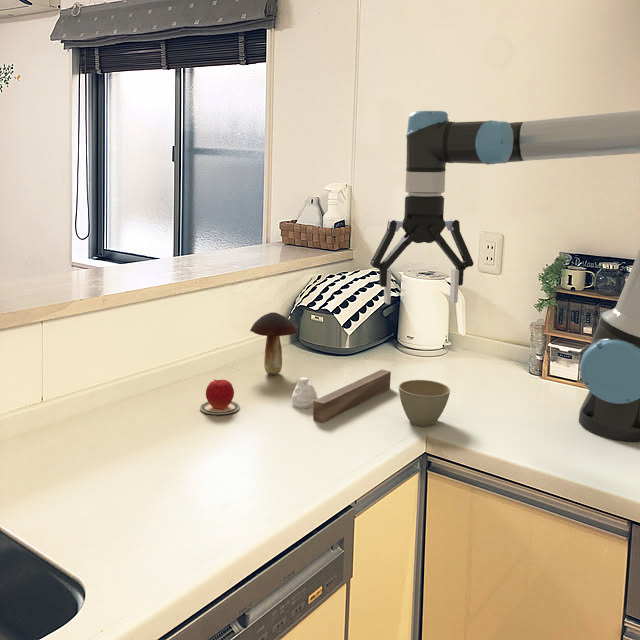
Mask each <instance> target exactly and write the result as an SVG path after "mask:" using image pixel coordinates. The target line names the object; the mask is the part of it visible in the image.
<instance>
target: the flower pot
mask: <svg viewBox="0 0 640 640" xmlns="http://www.w3.org/2000/svg"><path fill="white" fill-rule="evenodd" d="M398 392H399V393H398V394H399V399H400V403H401V406H402V409H403V411H404V414H405V416H406V417H407V420H408V421H409V422H410V423H411V424H413V425H415V426H419V427H429V426H433V425H435V424H436V423H437V421H438V420H440V419H439V418H440V417H441V416H442V414H443V412H444V410H445V408H446V406H447V403H448V400H449V398H450V393H451V388H450V387H449V386H448V385H447V384H444V383H441V382H438V381H435V380H428V379H412V380H405V381H403V382H401V383H399V385H398Z"/></svg>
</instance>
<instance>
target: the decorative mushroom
mask: <svg viewBox="0 0 640 640" xmlns="http://www.w3.org/2000/svg"><path fill="white" fill-rule="evenodd" d="M249 332H252V333H254V334H256V335H258V336H259V335H260V336H264V337H265V336H266V341H265V348H264V356H263V357H264V359H263V360H264V364H263V365H264V371H265V372H266V373H267V374H268V375H272V376H275V375H278V374H279V373H280V372H281V371H282V368H283V350H282V344H281V339H280V338H281V337H285V336H289V335H294V334H296V333H297V332H298V329H297V327H296V325H295V323H294V322H293V321H292V320H291V319H289V318H288V317H286V316H285V315H282V314H280V313H278V312H268V313H266V314H263V315H262V316H260V318H258V319H256V321H255V322H254V323H253V325H252V326H251V328H250V330H249Z"/></svg>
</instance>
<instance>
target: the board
mask: <svg viewBox="0 0 640 640" xmlns="http://www.w3.org/2000/svg"><path fill="white" fill-rule="evenodd" d="M391 373H392V371H391V370H386V369H380V370H378V371H376V372H373V373H371V374H368V375H367V376H365V377H362V378H360V379H358V380H356V381H353V382H351V383H350V384H347V385H345V386H343V387H341V388H339V389H336V390H334V391H332V392H330V393H328V394H327V393H326V395H324V396H320V397H318V399H317V400H314V403H313V407H312V408H313V411H312V412H313V413H312V414H313V415H312V420H313V421H316V422H319V423H323V424H324V423H326V422H327V421H329V420H331V419H333V418H335V417H337V416H339V415H341V414H343V413H345V412H347V411H349V410H351V409H352V408H355V407H357V406H359V405H360V404H362V403H365V402H367V401H369V400H370V399H372V398H374V397H376V396H378V395H380V394H382V393H384V392H386V391H388V390H389V389H391Z"/></svg>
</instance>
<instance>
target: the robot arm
mask: <svg viewBox="0 0 640 640" xmlns="http://www.w3.org/2000/svg"><path fill="white" fill-rule="evenodd" d="M405 136H406V137H405V138H406V164H405V165H406V167H405V188H404V190H405V193H407V195H405V197H404V214H403V215H404V218H403V220H401V221H400V220H395V219H392V218H390V219H389V220H388V221H387V228H386V231H385V233H384V235H383V237H382V239H381V241H380V243H379V245H378V247H377V249H375V252H374V255H373V257H372V258H371V259H370V266H371V267H373V268H375V269H378V271H379V280H378V282H379V285H380V287H381V288H383V302H384V303H385V304H386V305H391V297H392V292H391V289H392V271H391V270H390V267H391V266H392V265H393V263H394V262H395V261H396V260H397V259H398V258H399V257H400V256H401V254H402V253H403V252H404V251H405V250H406V248H407V247H408V246H409V245H411V244H412V243H415V244H422V243H423V244H424V243H426V244H432V243H434V242H435V244H437V245H438V246H439V248H440V249H441V250H442V251H443V253H444V254H445V256H446V257H447V258H448V260H450V262H451V263H452V265H453V267H455V268H451V269H450V286H449V287H450V288H449V289H450V290H449V301H450V302H452V303H453V304H457V303H458V299H459V287H460V286H463V284H464V271H465V270H466V269H467V268H469V267H473V266H474V264H475V263H474V261H473V258H472V256H471V254H470V251H469V248H468V246H467V244H466V242H465V239H464V238H463V235H462V233H461V226H460V224H461V223H460V221H459V220H458V219H455V218H451V219H450V220H449V219H448V220H445V219H444V214H445V213H444V210H445V197H444V196H443V195H442V194H444V193H445V187H446V171H447V170H446V166H447V164H477V165H479V164H480V165H481V164H482V165H487V166H488V165H496V164H507V163H516V162H517V163H518V162H527V161H528V162H529V161H543V160H556V159H557V160H559V159H572V158H574V159H575V158H587V157H591V158H592V157H605V156H618V155H619V156H620V155H635V154H640V110H630V111H629V110H628V111H619V112H609V113H599V114H591V115H590V114H587V115H579V116H568V117H558V118H547V119H539V120H538V119H537V120H525V121H516V122H515V121H514V122H508V121H502V120H501V121H498V120H492V119H490V120H483V121H482V120H481V121H478V120H477V121H459V122H458V121H457V122H456V121H450V120H449V114H448V113H447V112H446V111H443V110H416V111H413V112H411V113H410V114H409V115H408V121H407V131H406V135H405ZM400 228H402V230H403V231H404V232H405V233H404V235H403V236H401V238H400V240H399V242H397V244H396V245H395V246H394V247H393V248H392V250H391V251H390V252H389V253H388V254H387V255H386V257H385V254H386V252H387V250H388V249H389V246H390V244H391V242H392V241H393V240H394V239H393V238H394V237H395V235H396V233H397V232H399V230H400ZM445 228H447V231H449V232H450V234H451V235H452V239H453V241H454V244H455V245H456V248H457V250H458V253H459V255H460V257H461V259H462V261H461V259H460V258H459V257H458V255H457V254H456V253H455V251H454V250H453V249H452V248H451V246H450V245H449V244H448V243H447V241H446V240H445V238H444V237H443V235H441V233H442V232H443V231H444V229H445ZM383 258H384V259H383ZM579 367H580V368H579V371H580V377H581V379H582V383H583V384H584V385H585V387H586V389H587V390H588V393H587V394H586V397H585V399H584V400H583V402H582V404H581V407H580V410H579V414H578V415H579V416H578V423H579V425H580V426H581V427H583V428H584V429H586V430H588V432H591V433H594V434H595V435H598V436H601V437H605V438H608V439H613V440H617V439H618V441H623V442H625V441H626V442H640V249H638V253H637V255H636V257H635V260H634V262H633V264H632V267H631V269H630V271H629V275H628V276H627V279H626V280H625V283H624V286H623V288H622V291H621V294H620V295H619V298H618V300H617V303H616V305H615V307H614V308H612V309H609V310H606V311H603V312H602V313H601V315H600V319H599V321H598V324H597V327H596V330H595V331H594V333H593V336H592V339H591V341H590V344H589V346H588V347H587V348H586V350H585V351H584V352H583V353H582V356H581V359H580V366H579Z"/></svg>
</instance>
